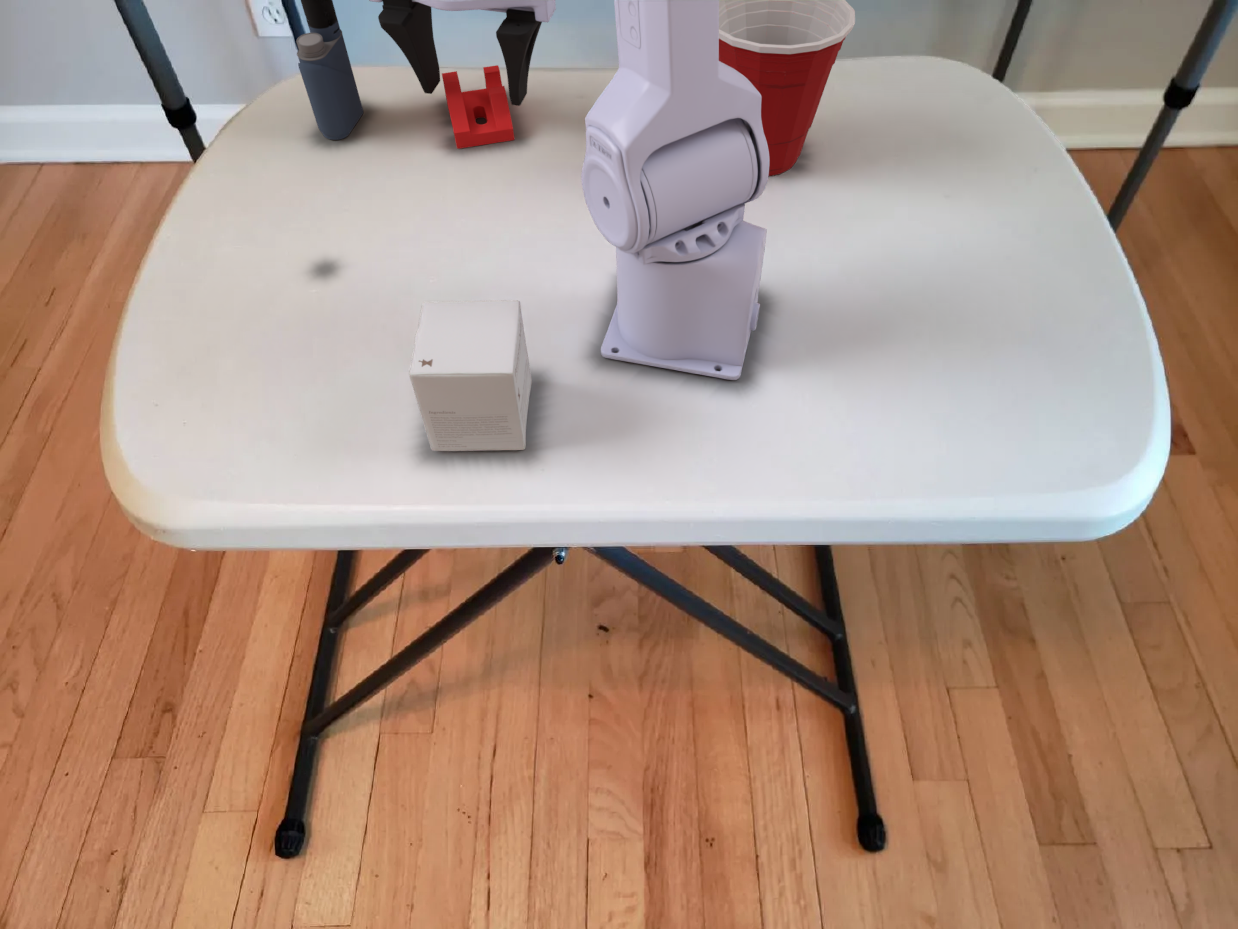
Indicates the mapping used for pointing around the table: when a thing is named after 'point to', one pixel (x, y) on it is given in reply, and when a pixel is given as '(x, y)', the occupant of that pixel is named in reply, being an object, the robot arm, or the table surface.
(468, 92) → the bracket
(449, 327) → the product box
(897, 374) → the table surface
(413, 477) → the table surface
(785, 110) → the plastic cup
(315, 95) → the vaping device
